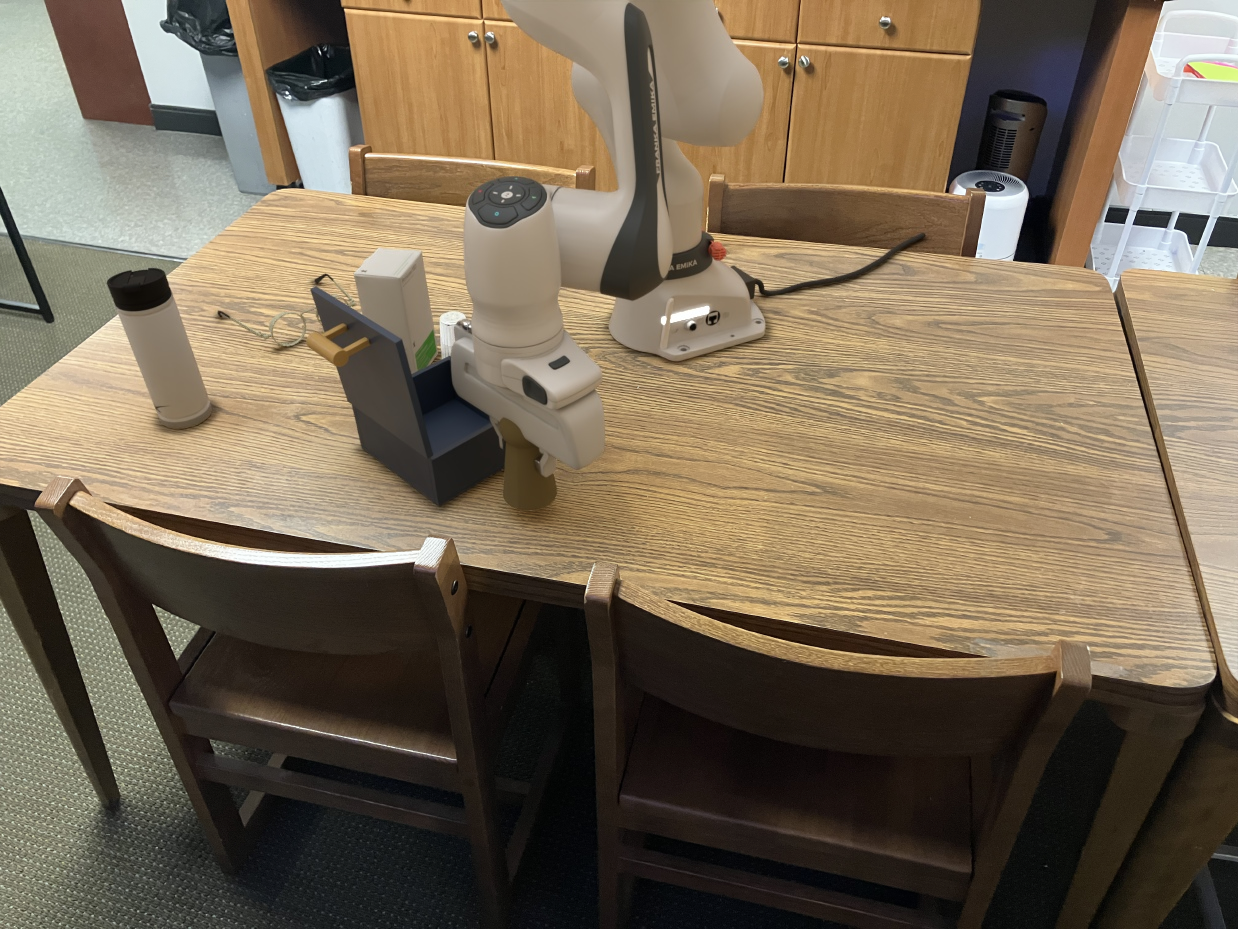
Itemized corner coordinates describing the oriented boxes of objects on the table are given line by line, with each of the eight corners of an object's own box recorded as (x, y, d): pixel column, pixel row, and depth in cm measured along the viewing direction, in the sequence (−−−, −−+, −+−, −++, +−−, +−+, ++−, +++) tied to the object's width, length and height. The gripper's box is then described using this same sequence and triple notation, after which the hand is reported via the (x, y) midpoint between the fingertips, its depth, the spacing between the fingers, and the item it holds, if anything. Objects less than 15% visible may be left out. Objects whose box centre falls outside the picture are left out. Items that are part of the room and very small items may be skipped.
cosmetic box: (418, 385, 123) (400, 279, 113) (371, 380, 124) (349, 274, 114) (440, 352, 129) (424, 248, 120) (395, 347, 130) (376, 244, 121)
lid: (316, 285, 98) (272, 307, 95) (402, 339, 90) (357, 364, 87) (353, 398, 108) (315, 420, 106) (433, 455, 100) (394, 481, 97)
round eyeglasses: (259, 358, 128) (250, 327, 125) (214, 317, 137) (204, 286, 134) (368, 316, 137) (362, 286, 134) (319, 280, 146) (312, 250, 143)
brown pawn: (529, 468, 106) (523, 388, 99) (568, 490, 103) (565, 409, 96) (491, 495, 102) (481, 414, 95) (531, 518, 99) (524, 436, 92)
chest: (455, 399, 121) (449, 355, 116) (535, 450, 112) (531, 404, 108) (361, 448, 113) (351, 403, 108) (439, 507, 104) (431, 460, 100)
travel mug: (157, 435, 115) (99, 290, 102) (163, 405, 120) (108, 263, 107) (211, 426, 116) (160, 282, 103) (214, 397, 121) (166, 256, 108)
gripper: (429, 323, 95) (445, 432, 103) (566, 404, 84) (571, 518, 92) (477, 301, 98) (489, 408, 107) (615, 376, 87) (615, 489, 96)
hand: (528, 460), depth 100 cm, fingers closed on brown pawn, 4 cm apart
